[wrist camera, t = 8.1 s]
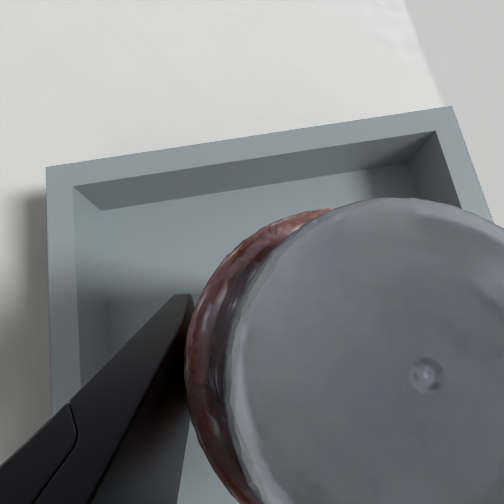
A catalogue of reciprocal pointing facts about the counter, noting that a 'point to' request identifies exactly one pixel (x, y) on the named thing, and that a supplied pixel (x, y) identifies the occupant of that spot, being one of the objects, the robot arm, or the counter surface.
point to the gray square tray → (216, 227)
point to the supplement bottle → (355, 358)
